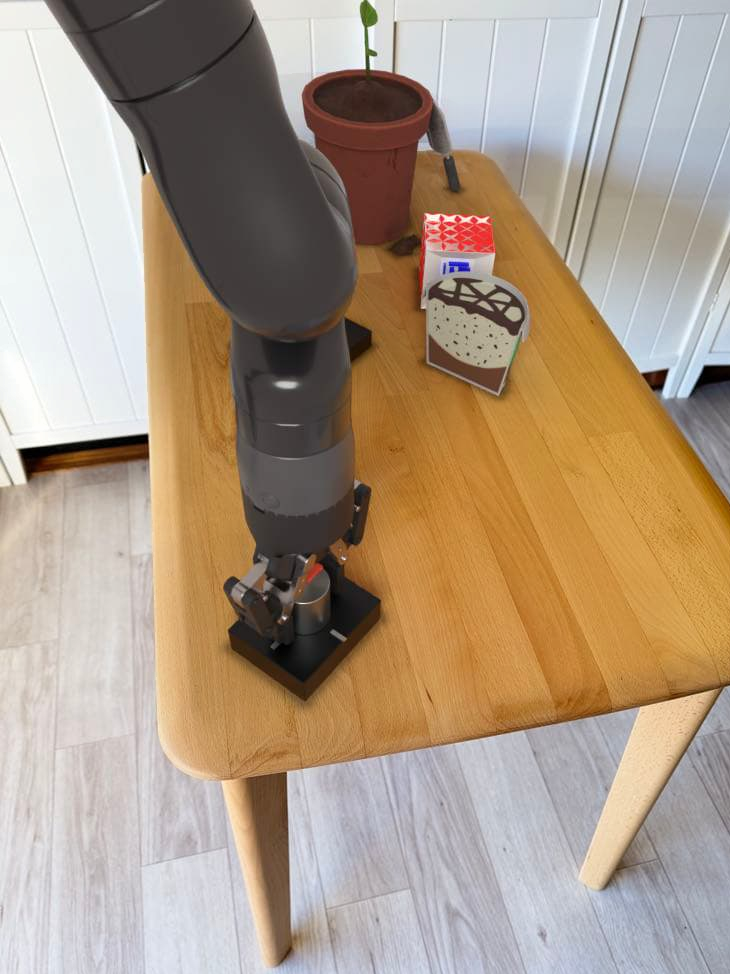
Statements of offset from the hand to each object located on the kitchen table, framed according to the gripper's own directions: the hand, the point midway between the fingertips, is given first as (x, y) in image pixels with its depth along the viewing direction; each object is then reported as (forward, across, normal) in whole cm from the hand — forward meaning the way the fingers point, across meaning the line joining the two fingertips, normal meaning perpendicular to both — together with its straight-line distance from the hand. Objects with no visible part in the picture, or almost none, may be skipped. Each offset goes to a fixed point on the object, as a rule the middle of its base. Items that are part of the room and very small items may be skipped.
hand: (305, 610), depth 66 cm
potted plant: (+4, -57, -34) cm, 66 cm away
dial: (0, 0, 0) cm, 0 cm away
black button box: (+3, -29, -25) cm, 38 cm away
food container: (+4, -39, -8) cm, 40 cm away
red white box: (+4, -49, -18) cm, 52 cm away
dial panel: (+3, 0, 0) cm, 3 cm away
